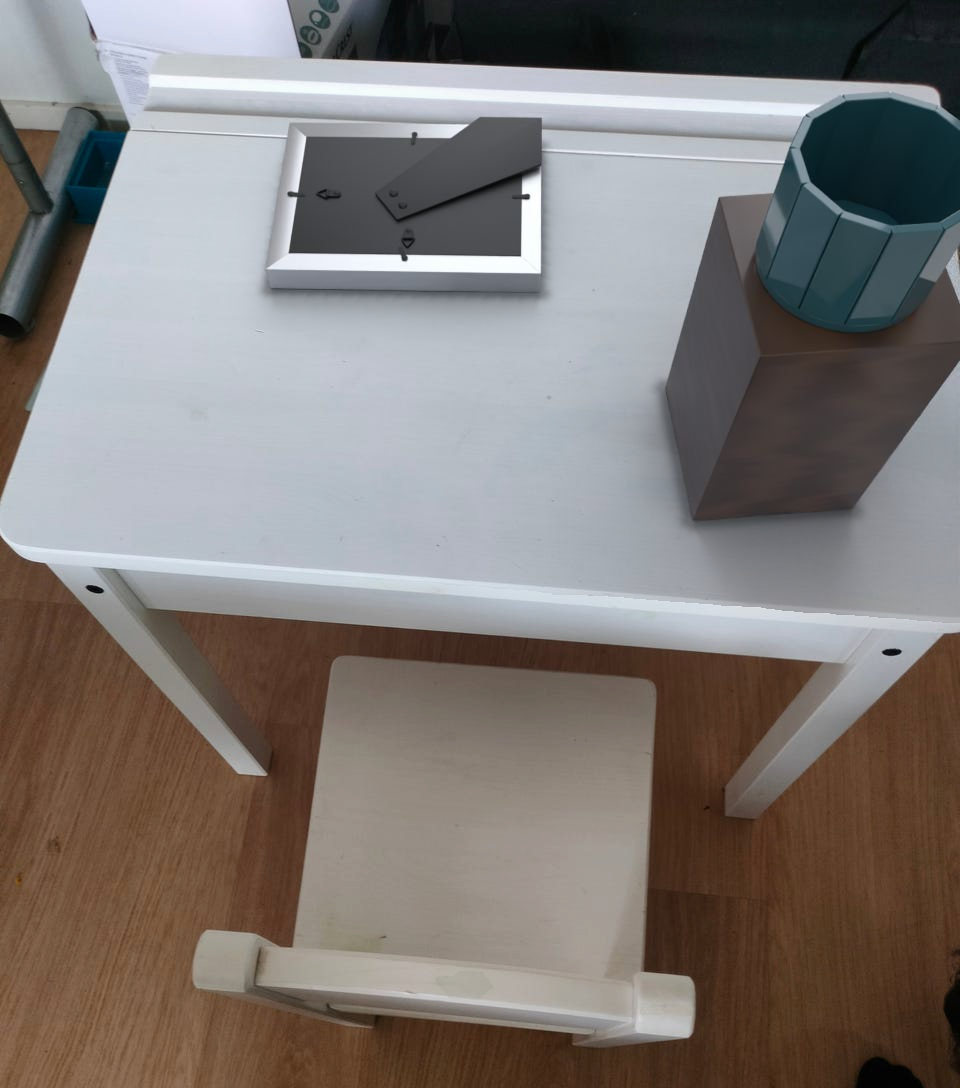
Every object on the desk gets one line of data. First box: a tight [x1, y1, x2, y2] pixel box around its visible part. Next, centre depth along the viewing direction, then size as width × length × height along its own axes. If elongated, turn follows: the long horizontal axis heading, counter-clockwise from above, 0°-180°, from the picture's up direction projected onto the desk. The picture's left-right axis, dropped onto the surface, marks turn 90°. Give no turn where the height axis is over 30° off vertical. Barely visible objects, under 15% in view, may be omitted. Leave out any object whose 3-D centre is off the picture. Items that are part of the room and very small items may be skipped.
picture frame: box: [264, 116, 543, 293], centre depth 75 cm, size 16×3×21 cm
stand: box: [664, 192, 960, 522], centre depth 58 cm, size 11×11×18 cm
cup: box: [756, 91, 960, 333], centre depth 47 cm, size 9×9×7 cm
